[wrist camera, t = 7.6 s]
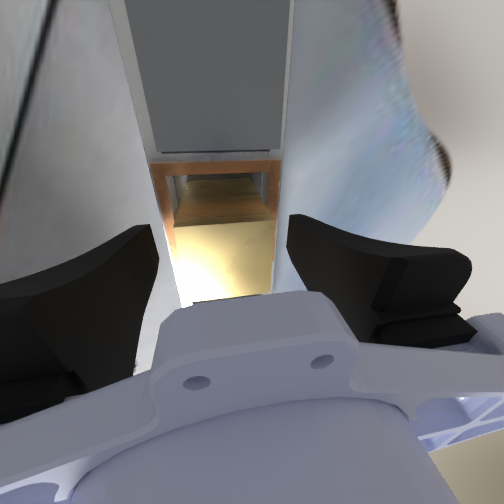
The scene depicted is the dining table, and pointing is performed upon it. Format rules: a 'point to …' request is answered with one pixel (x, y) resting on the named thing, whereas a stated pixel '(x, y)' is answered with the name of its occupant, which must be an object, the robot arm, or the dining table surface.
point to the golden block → (224, 239)
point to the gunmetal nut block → (212, 71)
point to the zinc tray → (197, 161)
